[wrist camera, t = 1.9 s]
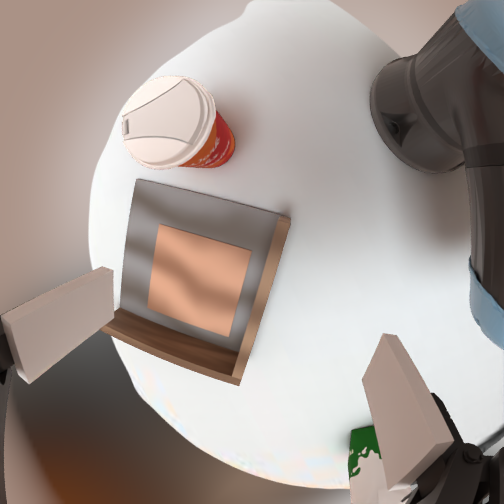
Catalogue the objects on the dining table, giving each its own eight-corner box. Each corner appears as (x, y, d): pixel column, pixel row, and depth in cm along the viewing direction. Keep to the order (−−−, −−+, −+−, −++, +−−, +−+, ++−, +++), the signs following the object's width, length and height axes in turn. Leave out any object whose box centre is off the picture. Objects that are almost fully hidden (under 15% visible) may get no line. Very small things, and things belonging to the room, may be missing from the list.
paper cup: (185, 181, 31) (117, 178, 18) (180, 122, 30) (115, 88, 16) (248, 172, 30) (215, 157, 17) (242, 110, 29) (206, 58, 15)
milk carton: (388, 443, 37) (407, 524, 17) (344, 453, 38) (350, 538, 19) (395, 417, 35) (422, 507, 16) (345, 427, 36) (356, 525, 17)
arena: (138, 179, 32) (111, 178, 26) (290, 217, 31) (290, 223, 25) (121, 312, 37) (99, 329, 31) (246, 359, 36) (239, 386, 30)
